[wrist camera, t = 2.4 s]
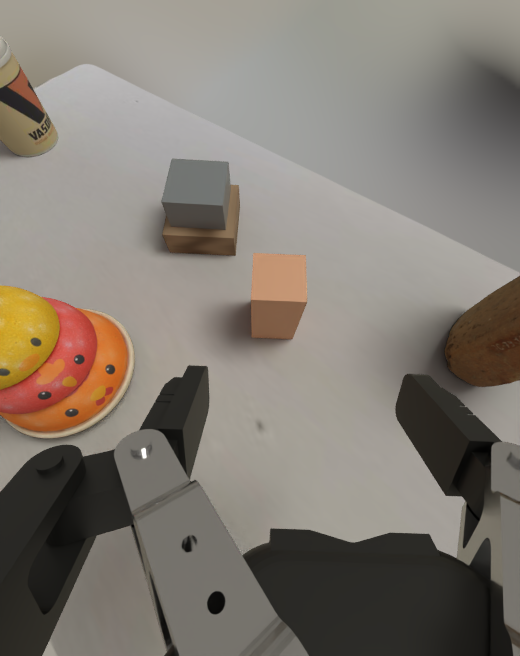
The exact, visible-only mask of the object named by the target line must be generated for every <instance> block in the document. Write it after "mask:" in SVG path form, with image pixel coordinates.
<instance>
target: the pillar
mask: <svg viewBox="0 0 520 656" xmlns="http://www.w3.org/2000/svg"><path fill="white" fill-rule="evenodd" d="M306 304H307V281H306V255H285V254H262V253H253V273H252V292H251V329H252V338H276V339H293V336H294V334H295V331H296V329H297V326H298V324H299V321H300V319H301V316H302V314H303V311H304V309H305V306H306Z"/></svg>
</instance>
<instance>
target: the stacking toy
mask: <svg viewBox="0 0 520 656" xmlns="http://www.w3.org/2000/svg"><path fill="white" fill-rule="evenodd" d="M134 363H135V356H134V348H133V344H132V341H131V339H130V336H129V334H128V333H127V331H126V330H125V328H124V327H123V326H122V325H121V324H120V323H119V322H118V321H117V320H116V319H114V318H113V317H111V316H109V315H107V314H105V313H103V312H100V311H96V310H91V309H79V308H75V307H73V306H71V305H69V304H67V303H64V302H61V301H58V300H55V299H50V298H45V297H40V296H38V295H36V294H34V293H32V292H29V291H27V290H24V289H20V288H16V287H10V286H0V415H1V416H2V417H4V418H5V420H6V421H7V422H8V423H9V424H10V425H11V426H12V427H13V428H15V429H16V430H18V431H19V432H21V433H23V434H26V435H29V436H32V437H37V438H59V437H65V436H69V435H72V434H76V433H78V432H80V431H83V430H85V429H87V428H89V427H91V426H92V425H94V424H96V423H97V422H98V421H100V420H101V419H103V418H104V417H105V416H106V415H107V414H108V413H109V412H111V411H112V409H113V408H114V407H115V406H116V405H117V404H118V403H119V401H120V400H121V398H122V397H123V395H124V394H125V392H126V390H127V388H128V386H129V384H130V381H131V378H132V375H133V371H134Z"/></svg>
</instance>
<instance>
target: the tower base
mask: <svg viewBox="0 0 520 656" xmlns="http://www.w3.org/2000/svg"><path fill="white" fill-rule="evenodd" d="M239 210H240V200H239V185H231V192H230V200H229V208H228V216H227V224H226V230H220V229H203V228H186V227H171V225H170V223H169V220H168V218H167V215H166V220H165V224H164V229H163V234H162V235H163V237H164V240H165V242H166V244H167V246H168V249H169V251H170V252H171V253H192V254H213V255H234V256H236V244H237V233H238V221H239Z"/></svg>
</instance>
